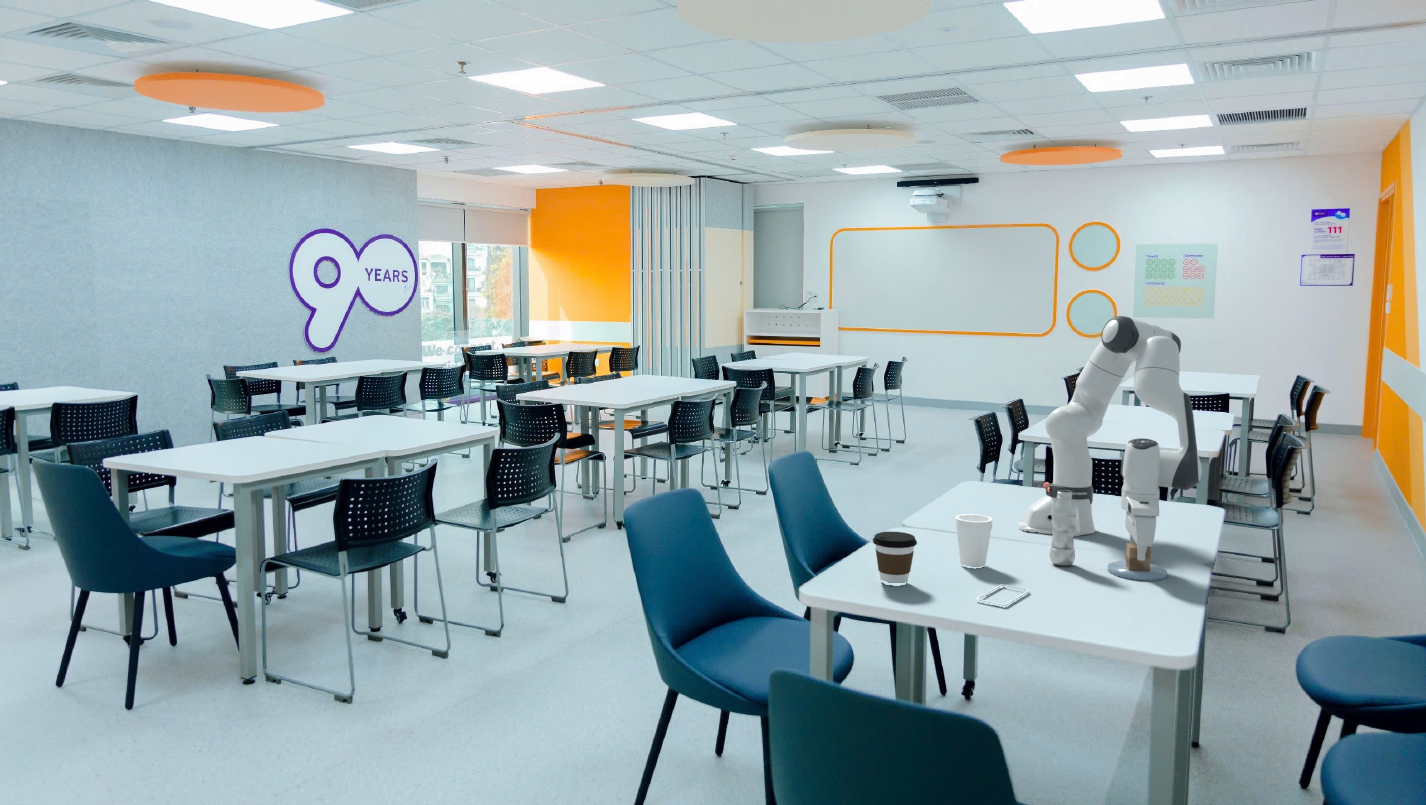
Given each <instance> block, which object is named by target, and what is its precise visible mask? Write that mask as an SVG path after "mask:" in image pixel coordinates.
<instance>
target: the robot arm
mask: <svg viewBox="0 0 1426 805" xmlns="http://www.w3.org/2000/svg"><path fill="white" fill-rule="evenodd" d="M1102 328H1103V329H1102V331H1101V336H1100V338H1101V341H1100V342H1099V344H1097V346H1096V348H1095V349H1094V350H1093V351H1092V353H1091V355H1090V356H1089V358H1088V360H1087V362H1086V363H1085V365H1084V366H1083V369H1082V370H1081V372H1080V374H1079V375H1078V378H1076V382H1075V389H1074V391H1073V395H1072V397H1071V400H1070V401H1069V402H1068V404H1067V405H1062V406H1059V407H1057V408H1055V409H1054V410H1053V411H1051V412H1050V413H1049V415H1048V416H1047V418H1046V420H1045V423H1044V424H1045V425H1044V426H1045V431H1046V433H1047V435H1048V436H1049V438H1050V440H1049V441H1050V444H1051V451H1052V456H1053V470H1052V471H1053V476H1052V477H1053V480H1052V483H1049V482H1048V481H1047V482H1044V483H1043V488H1044V489H1045V495H1044V496H1041V497H1040V498H1039V499H1037V500H1036V501H1034V502H1032V503H1031V504H1030V505H1029V506H1028V508H1027V510H1026V513H1025V518H1024V519H1023V518H1022V519H1020V520H1019V521H1018V522H1017V526H1019V527H1018V529H1019V530H1021V531H1023V530H1024V531H1023V532H1026V531H1029V532H1028V533H1035V532H1038V533H1037V534H1046V535H1053V523H1052V514H1051V510H1052V507H1053V505H1054V504H1055V503H1056V501H1057V500H1058V498H1057V492H1058V490H1067V491H1071V492H1072V499H1071V502H1072V503H1073V505H1074V506H1075V508H1076V511H1077V513H1076V519H1075V524H1074V531H1073V532H1074V535H1073V537H1079V536H1083V535H1090V534H1094V533H1095V532H1096V528H1095V525H1094V524H1095V523H1094V518H1093V511H1092V510H1093V508H1092V504H1093V501H1094V487H1093V485H1092V478H1093V459H1092V457H1091V455H1090V450H1089V447H1088V438H1089V437H1092V436H1093V435H1095V434H1096V433H1097V432H1098V431H1099V430H1100V429H1101V427H1102V425H1103V423H1104V422H1103V421H1104V418H1105V416H1106V413H1107V409H1108V406H1109V404H1110V402H1111V400H1112V398H1113V396H1114V394H1115V393H1116V391H1117V389H1118V387H1119V386H1120V384H1121V382H1122V380H1123V379H1124V377H1125V375H1126V374H1127V372H1128V371H1129V368H1130V366H1131V365H1132V364H1133V363H1134V362H1135V367H1134V375H1133V392H1134V393H1135V396H1136V397H1137V399H1138V400H1140V402H1142V403H1143V404H1144V405H1145V406H1147V407H1149V408H1152V409H1154V410H1157V411H1159V412H1162V413H1164V414H1166V415H1168V416H1170V417H1171V418H1173V419H1174V420H1175V421H1176V423H1177V426H1178V427H1177V428H1178V436H1179V437H1178V438H1179V448H1178V449H1177V450H1174V449H1172V450H1171V449H1160V445H1159V443H1158V441H1156V440H1153V439H1151V438H1139V437H1138V438H1134V439H1131V440H1128V441H1127V443H1126V445H1125V449H1124V450H1125V451H1124V454H1123V455H1122V456H1121V460H1120V461H1121V462H1120V475H1121V476H1122V478H1123V485H1122V487H1121V498H1120V499H1121V500H1120V502H1121V503H1120V508H1121V509H1122V510H1125V511H1126V512H1125V530H1127V532H1128V534H1129V539H1130V543H1136V544H1137V547H1138V548H1137V559H1138V560H1141V561H1144V560H1145V554H1146V550H1147V547H1150V548H1151V547H1153V544H1154V541H1155V534H1156V528H1157V517H1159V516H1160V492H1161V491H1160V487H1164V488H1173V489H1177V490H1182V491H1188V490H1190V489H1192V488H1194V487H1195V486H1197V485H1198V484H1199V483H1200V480H1201V478H1202V472H1203V469H1202V468H1203V467H1202V464H1201V460H1200V457H1199V456H1200V455H1199V454H1198V453H1199V452H1198V446H1197V434H1196V426H1195V417H1194V411H1193V404H1192V401H1191V398H1190V396H1189V394H1188V393H1186V392H1184V391H1183V389H1182V387H1181V384H1180V370H1181V369H1180V368H1181V365H1180V363H1181V362H1180V353H1181V348H1182V342H1181V339H1180V337H1179V336H1178V335H1176V334H1175V333H1174V332H1173V331H1170V329H1169V330H1168V329H1164V328H1162V327H1160V326H1157V325H1156V324H1153V323H1151V322H1145V321H1142V320H1140V319H1139V320H1138V319H1134V318H1131V317H1129V316H1125V315H1117V316H1113V317H1112V318H1110V319H1109V320H1108V321H1107V322H1106V323H1105V325H1104V326H1103V327H1102Z"/></svg>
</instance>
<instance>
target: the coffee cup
mask: <svg viewBox="0 0 1426 805" xmlns="http://www.w3.org/2000/svg"><path fill="white" fill-rule="evenodd" d="M873 536H874V537H873V538H872V544H874V545H875V554H876V555H875V556H876V562H877V567H878V572H879V578H880V581H881V580H883V581H886V582H888V583H905V582H907V583H908V581H909V574H910V572H911V570H912V563H913V558H914V552H915V551H914V547H915V546H917V545H918V541H917V539H916V537H915V535H913V534H911V533H908V532H902V531H882V532H878V533H875V534H874V535H873Z"/></svg>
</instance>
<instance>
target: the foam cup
mask: <svg viewBox="0 0 1426 805" xmlns="http://www.w3.org/2000/svg"><path fill="white" fill-rule="evenodd" d="M955 528H956V536H957V543H958V551H959V552H958V555H959V563H960V565H961V564H962V565H966V566H971V567H981V566H984V565H985V566H986V563H987V559H988V558H987V556H988V551H989V545H990V544H989V543H990V538H991V531H992V529H993V518H992V517H991V516H988V515H985V514H984V515H983V514H977V513H976V514H974V513H964V514H963V513H962V514H958V515H956V516H955Z"/></svg>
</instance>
